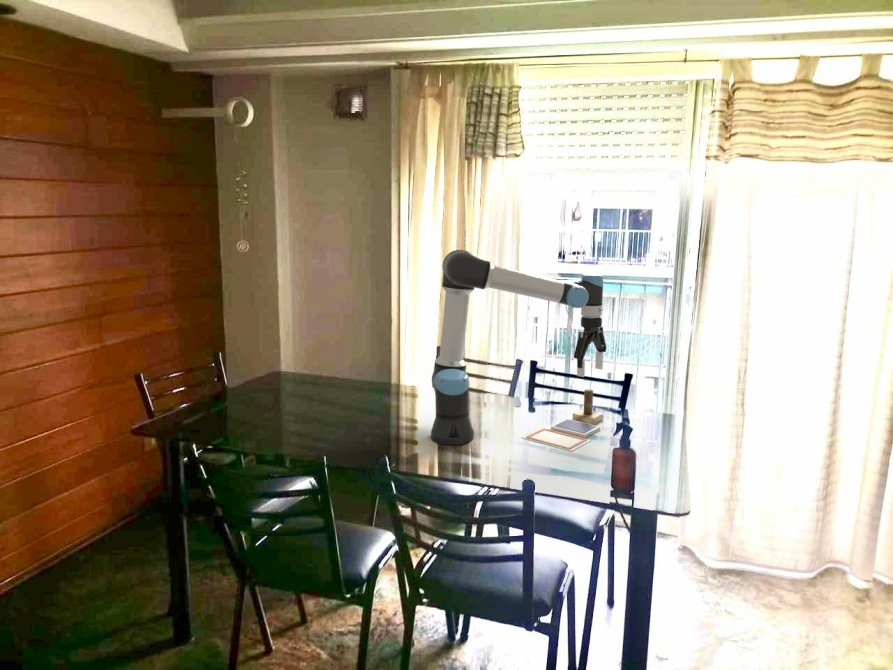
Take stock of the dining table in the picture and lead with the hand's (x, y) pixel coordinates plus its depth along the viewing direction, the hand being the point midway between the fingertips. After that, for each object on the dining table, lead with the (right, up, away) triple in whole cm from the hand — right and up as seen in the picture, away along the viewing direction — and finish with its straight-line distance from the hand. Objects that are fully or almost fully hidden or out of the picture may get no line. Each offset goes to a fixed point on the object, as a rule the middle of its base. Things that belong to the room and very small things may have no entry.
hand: (589, 372), depth 246 cm
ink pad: (-7, -20, -7) cm, 22 cm away
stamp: (0, -18, +4) cm, 19 cm away
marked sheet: (-15, -22, -16) cm, 32 cm away
